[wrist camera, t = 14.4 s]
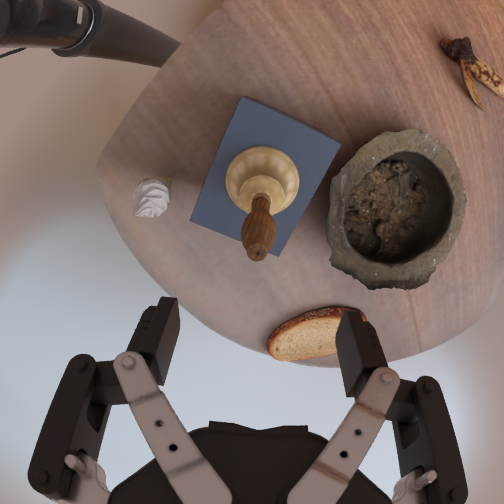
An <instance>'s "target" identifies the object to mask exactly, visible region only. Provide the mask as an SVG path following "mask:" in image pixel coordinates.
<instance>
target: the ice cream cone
mask: <svg viewBox="0 0 504 504" xmlns="http://www.w3.org/2000/svg"><path fill="white" fill-rule="evenodd" d="M171 181H172V177H157V178H156V177H148V178H145V179H143V180H142V181H141V182H140V183H139V184H138V186H137V188H136V190H135V191H134V193H133V195H132V199H133V207H134V210H135V212H134V217H135V216H141V217H143V216H144V215H145V217H149V218H153V217H154V216H160V215H161V213H162V212H164V211H165V210H166V209H167V207H168V206H169V204H170V201H171ZM153 215H154V216H153Z"/></svg>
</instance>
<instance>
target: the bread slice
mask: <svg viewBox="0 0 504 504" xmlns="http://www.w3.org/2000/svg"><path fill="white" fill-rule="evenodd" d="M344 311H360V313H361V315H362V318H363V321H366V317H365V315H364V314H363V312H362V311H361V310H352V309H348V308H343V307H329V308H325V309H319V310H314V311H311V312H306V313H305V314H303V315H302V316H300V317H297V318H293V319H291V320H289V321H287V322H285V323H284V324H283V325H281V326H280V327H278V328H277V329H276V330H275V331H274V332H273V333H272V334H271V336H270V337H269V339H268V342H267V350H268V352H269V354H270V355H271V356H272V357H273V358H274V359H276V360H279V361H293V360H302V359H309V358H314V357H319V356H322V355H326V354H331V353H334V352H337V349H336V344H335V336H336V332H337V329H338V326H339V323H340V320H341V317H342V314H343V312H344Z"/></svg>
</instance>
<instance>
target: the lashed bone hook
mask: <svg viewBox="0 0 504 504" xmlns="http://www.w3.org/2000/svg"><path fill="white" fill-rule="evenodd" d="M441 48H442V49H443V50H444V51H445V53H446V54H447V56H449V57H450V58H451V59H452V60H454V61H456V62H457V63H459V67H460V72H461V76H462V78H463V81H464V84H465V86H466V88H467V90H468V92H469V94H470V96H471V98H472V99H473V101H474V102H475V104H476V105H477V106H478V107H479V108H481V109H482V110H485V111H486V109H485V107H484V106H483V104H482V102H481V100H480V98H479V95H478V93H477V90H476V88H475V85H474V81H473V76H474V77H476V79H478V80H479V81H480V82H481V83H482V84H484V85H485V86H487V87H489V88H490V89H491V90H493V91H494V92H495V93H496V94H497V95H499V96H500V97H502V98H503V99H504V79H503V78H502V77H501V76H500V75H499V74H498V73H497V72H495V71H494V70H493V69H492V68H490V67H489V66H488V65H487V64H486V63H485V62H484V61H482V60H481V59H480V58H478V57H477V56H476V55H474V54H473V51H472V47H471V42H470V39H469V38H468V37H464V38H463V39H459V38H458V39H455V40H453V41H451V40H449V39H446V38H444V39H443V40H442V42H441Z"/></svg>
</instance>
